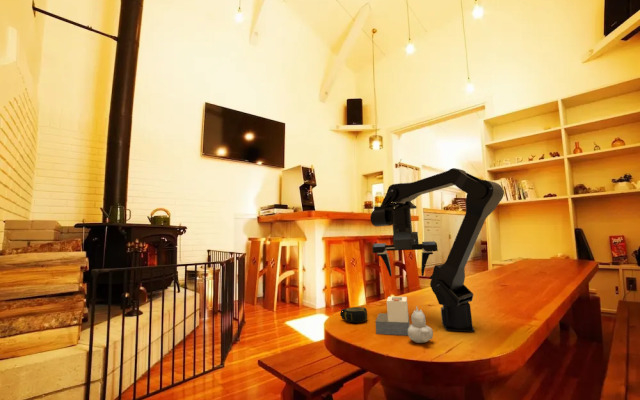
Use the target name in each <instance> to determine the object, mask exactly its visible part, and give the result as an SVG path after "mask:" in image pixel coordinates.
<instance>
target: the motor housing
mask: <svg viewBox="0 0 640 400" xmlns="http://www.w3.org/2000/svg"><path fill="white" fill-rule="evenodd" d="M410 323H411V322H410V313H408V323H407V322H388V313H387V312H386V313H380V312H379V313H378V314H377V317H376V319H375V332H376V333H375V334H376V335H389V336H407V337H409V336H408V328H409V327H410V325H411V324H410Z"/></svg>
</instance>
